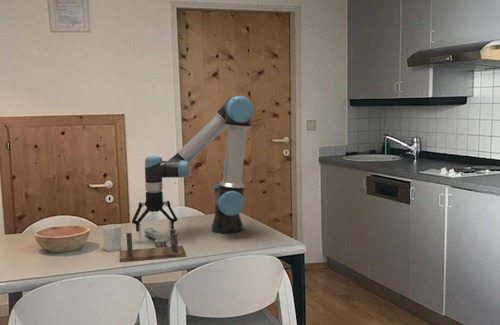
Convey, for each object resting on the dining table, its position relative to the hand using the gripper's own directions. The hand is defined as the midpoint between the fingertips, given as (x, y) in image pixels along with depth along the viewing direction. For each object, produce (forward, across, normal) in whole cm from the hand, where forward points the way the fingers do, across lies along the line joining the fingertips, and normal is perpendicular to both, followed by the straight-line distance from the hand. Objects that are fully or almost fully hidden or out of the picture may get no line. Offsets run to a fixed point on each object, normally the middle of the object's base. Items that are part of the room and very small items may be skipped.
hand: (155, 237), depth 249 cm
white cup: (+2, +19, +8) cm, 20 cm away
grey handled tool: (+2, 0, 0) cm, 2 cm away
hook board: (+2, +3, +23) cm, 23 cm away
